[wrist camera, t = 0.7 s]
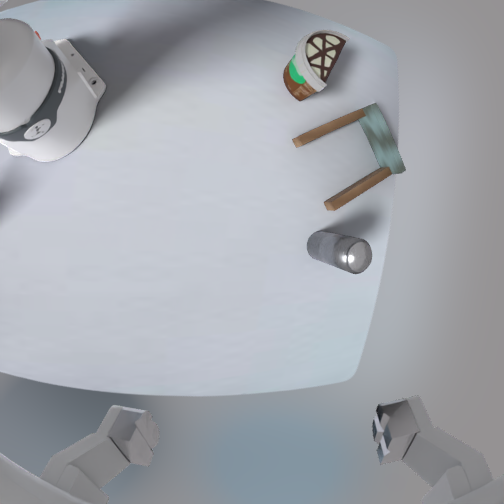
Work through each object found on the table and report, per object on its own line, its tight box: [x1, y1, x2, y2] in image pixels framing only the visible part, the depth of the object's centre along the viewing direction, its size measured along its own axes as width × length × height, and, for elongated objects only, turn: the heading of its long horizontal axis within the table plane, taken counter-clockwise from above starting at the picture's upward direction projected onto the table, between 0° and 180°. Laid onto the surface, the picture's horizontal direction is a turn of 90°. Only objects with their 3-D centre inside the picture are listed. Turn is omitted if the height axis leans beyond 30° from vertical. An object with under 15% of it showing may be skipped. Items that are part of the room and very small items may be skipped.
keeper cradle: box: [292, 103, 406, 211], centre depth 44 cm, size 13×16×5 cm
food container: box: [283, 30, 350, 101], centre depth 37 cm, size 12×6×10 cm, turn 154°
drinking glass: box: [307, 231, 372, 274], centre depth 42 cm, size 5×5×12 cm
